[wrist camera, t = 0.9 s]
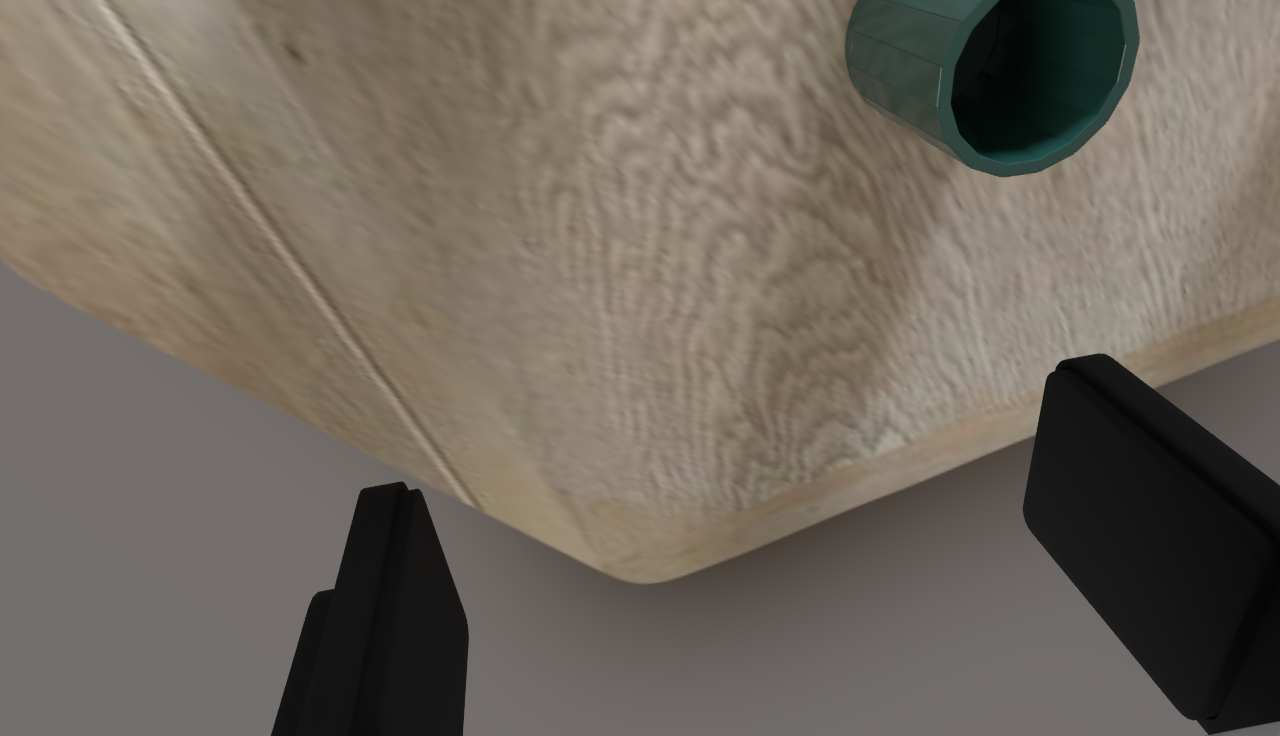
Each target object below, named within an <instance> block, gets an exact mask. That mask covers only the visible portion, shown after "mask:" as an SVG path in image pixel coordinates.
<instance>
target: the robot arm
mask: <svg viewBox="0 0 1280 736" xmlns="http://www.w3.org/2000/svg"><path fill="white" fill-rule="evenodd" d="M1023 514H1024V518H1025V522H1026V524H1027V526H1028V528H1029V529H1030V531H1031V532H1032V533H1033V535H1034V536H1035V537H1036V538H1037V540H1038V541H1039V542H1040V543H1041V544H1042V546H1043V547H1044V548H1045V549H1046V550H1047V552H1048V553H1049V554H1050V555H1051V557H1052V558H1053V559H1054V560H1055V561H1056V563H1057V564H1058V565H1059V566H1060V568H1061V569H1062V570H1063V571H1064V572H1065V574H1066V575H1067V576H1068V577H1069V578H1070V580H1071V581H1072V582H1073V583H1074V585H1075V586H1076V587H1077V588H1078V589H1079V591H1080V592H1081V593H1082V594H1083V596H1084V597H1085V598H1086V599H1087V600H1088V602H1089V603H1090V604H1091V605H1092V606H1093V608H1094V609H1095V610H1096V611H1097V613H1098V614H1099V615H1100V616H1101V617H1102V619H1103V620H1104V621H1105V622H1106V623H1107V625H1108V626H1109V627H1110V628H1111V630H1112V631H1113V632H1114V633H1115V634H1116V636H1117V637H1118V638H1119V639H1120V640H1121V642H1122V643H1123V644H1124V645H1125V647H1126V648H1127V649H1128V650H1129V651H1130V653H1131V654H1132V655H1133V656H1134V657H1135V659H1136V660H1137V661H1138V662H1139V664H1140V665H1141V666H1142V667H1143V669H1144V670H1145V671H1146V672H1147V673H1148V675H1149V676H1150V677H1151V678H1152V679H1153V681H1154V682H1155V683H1156V684H1157V686H1158V687H1159V688H1160V689H1161V690H1162V692H1163V693H1164V694H1165V695H1166V696H1167V698H1168V699H1169V700H1170V701H1171V703H1172V704H1173V705H1174V706H1175V707H1176V709H1177V710H1178V711H1179V712H1180V713H1181V714H1182V715H1184V716H1185V717H1186V718H1188V719H1191V720H1197V721H1198V723H1199V724H1200V725H1201V726H1202V727H1203V728H1204V730H1205V731H1206V732H1207V733H1208V735H1207V736H1280V485H1278V484H1277V483H1276V482H1274V481H1273V480H1272V479H1270V478H1269V477H1268V476H1266V475H1265V474H1264V473H1263V472H1261V471H1260V470H1259V469H1257V468H1256V467H1255V466H1253V465H1252V464H1251V463H1250V462H1248V461H1247V460H1246V459H1244V458H1243V457H1241V456H1240V455H1239V454H1238V453H1236V452H1235V451H1234V450H1232V449H1231V448H1230V447H1228V446H1227V445H1225V443H1223V442H1222V441H1221V440H1219V439H1218V438H1217V437H1215V436H1214V435H1213V434H1211V433H1210V432H1209V431H1207V430H1206V429H1205V428H1204V427H1202V426H1201V425H1200V424H1198V423H1197V422H1196V421H1194V420H1193V419H1192V418H1190V417H1189V416H1188V415H1186V414H1185V413H1184V412H1182V411H1181V410H1180V409H1178V408H1177V407H1176V406H1175V405H1173V404H1172V403H1171V402H1169V401H1168V400H1167V399H1165V398H1164V397H1163V396H1161V395H1160V394H1159V393H1157V392H1156V391H1155V390H1154V389H1152V388H1151V387H1150V386H1148V385H1147V384H1146V383H1144V382H1143V381H1142V380H1140V379H1139V378H1138V377H1136V376H1135V375H1134V374H1133V373H1131V372H1130V371H1129V370H1127V369H1126V368H1125V367H1123V366H1122V365H1121V364H1119V363H1118V362H1117V361H1115V360H1114V359H1113V358H1111V357H1110V356H1108V355H1106V354H1100V353H1099V354H1093V355H1088V356H1082V357H1077V358H1071V359H1066V360H1063V361H1061V362H1060V363H1059V364H1058V365H1057V367H1056V370H1055V371H1054V372H1052V373H1050V374H1049V375H1048V376H1047V379H1046V383H1045V389H1044V394H1043V400H1042V405H1041V411H1040V416H1039V422H1038V427H1037V433H1036V438H1035V444H1034V450H1033V454H1032V460H1031V465H1030V471H1029V476H1028V482H1027V487H1026V493H1025V498H1024V504H1023ZM468 643H469V634H468V624H467V619H466V615H465V612H464V609H463V606H462V604H461V601H460V598H459V595H458V593H457V589H456V587H455V584H454V581H453V578H452V576H451V573H450V570H449V567H448V564H447V561H446V559H445V556H444V553H443V550H442V547H441V544H440V542H439V539H438V536H437V533H436V530H435V528H434V525H433V522H432V519H431V516H430V514H429V511H428V508H427V505H426V502H425V499H424V497H423V495H422V492H421V491H420V490H419V489H414V490H408V488H407V486H406V484H405V483H404V482H396V483H391V484H386V485H380V486H375V487H369V488H364V489H362V490H361V492H360V494H359V497H358V501H357V505H356V509H355V512H354V516H353V520H352V524H351V527H350V531H349V535H348V539H347V543H346V547H345V550H344V554H343V558H342V561H341V565H340V569H339V573H338V577H337V580H336V584H335V588H334V589H331V590H326V591H321V592H318V593H316V594H315V596H314V597H313V598H312V600H311V603H310V605H309V608H308V611H307V614H306V618H305V621H304V625H303V628H302V632H301V635H300V638H299V642H298V645H297V649H296V652H295V656H294V659H293V662H292V666H291V669H290V673H289V676H288V679H287V683H286V686H285V690H284V693H283V696H282V700H281V703H280V707H279V710H278V713H277V717H276V720H275V724H274V728H273V731H272V734H271V736H463V722H464V707H465V690H466V674H467V659H468V658H467V657H468Z"/></svg>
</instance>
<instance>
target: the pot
mask: <svg viewBox="0 0 1280 736" xmlns="http://www.w3.org/2000/svg"><path fill="white" fill-rule="evenodd" d="M1139 40H1140V36H1139V29H1138V22H1137V15H1136V8H1135V2H1134V1H1133V0H858V1H857V3H856V5H855V7H854V9H853V12H852V15H851V18H850V21H849V25H848V29H847V34H846V44H845V56H846V63H847V69H848V72H849V76H850V79H851V81H852V83H853V85H854V87H855V89H856V90H857V92H858V94H859V95H860V96H861V97H862V98H863V100H864V101H865V102H866V103H868V104H869V105H870V106H871V107H873V108H874V109H876V110H877V111H878V112H879V113H880V114H881V115H883V116H885V117H886V118H888V119H890V120H891V121H893V122H895V123H896V124H898V125H899V126H901V127H903V128H904V129H906V130H908V131H909V132H911V133H913V134H914V135H916V136H918V137H919V138H921V139H923V140H924V141H926V142H928V143H929V144H931V145H933V146H934V147H936V148H938V149H939V150H941V151H943V152H944V153H946V154H948V155H949V156H951V157H953V158H954V159H956V160H958V161H959V162H961V163H963V164H964V165H966V166H968V167H969V168H971V169H975V170H978V171H981V172H985V173H988V174H991V175H995V176H998V177H1009V176H1017V175H1024V174H1031V173H1037V172H1040V171H1042V170H1044V169H1046V168H1048V167H1050V166H1052V165H1054V164H1056V163H1058V162H1060V161H1061V160H1063V159H1065V158H1067V157H1069V156H1071V155H1073V154H1074V153H1075V152H1077V151H1078V150H1079V149H1080V148H1081V147H1082V146H1083V145H1084V144H1085V143H1086V142H1087V141H1088V140H1089V139H1090V138H1091V137H1092V136H1094V135H1095V134H1096V133H1097V132H1098V131H1099V130H1100V129H1101V128H1102V127H1103V126H1104V125H1105V124H1106V122H1107V121H1108V120H1109V118H1110V117H1111V115H1112V113H1113V111H1114V110H1115V108H1116V106H1117V105H1118V103H1119V101H1120V99H1121V98H1122V96H1123V94H1124V92H1125V91H1126V89H1127V87H1128V86H1129V82H1130V81H1131V77H1132V72H1133V68H1134V64H1135V59H1136V55H1137V51H1138V47H1139Z"/></svg>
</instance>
